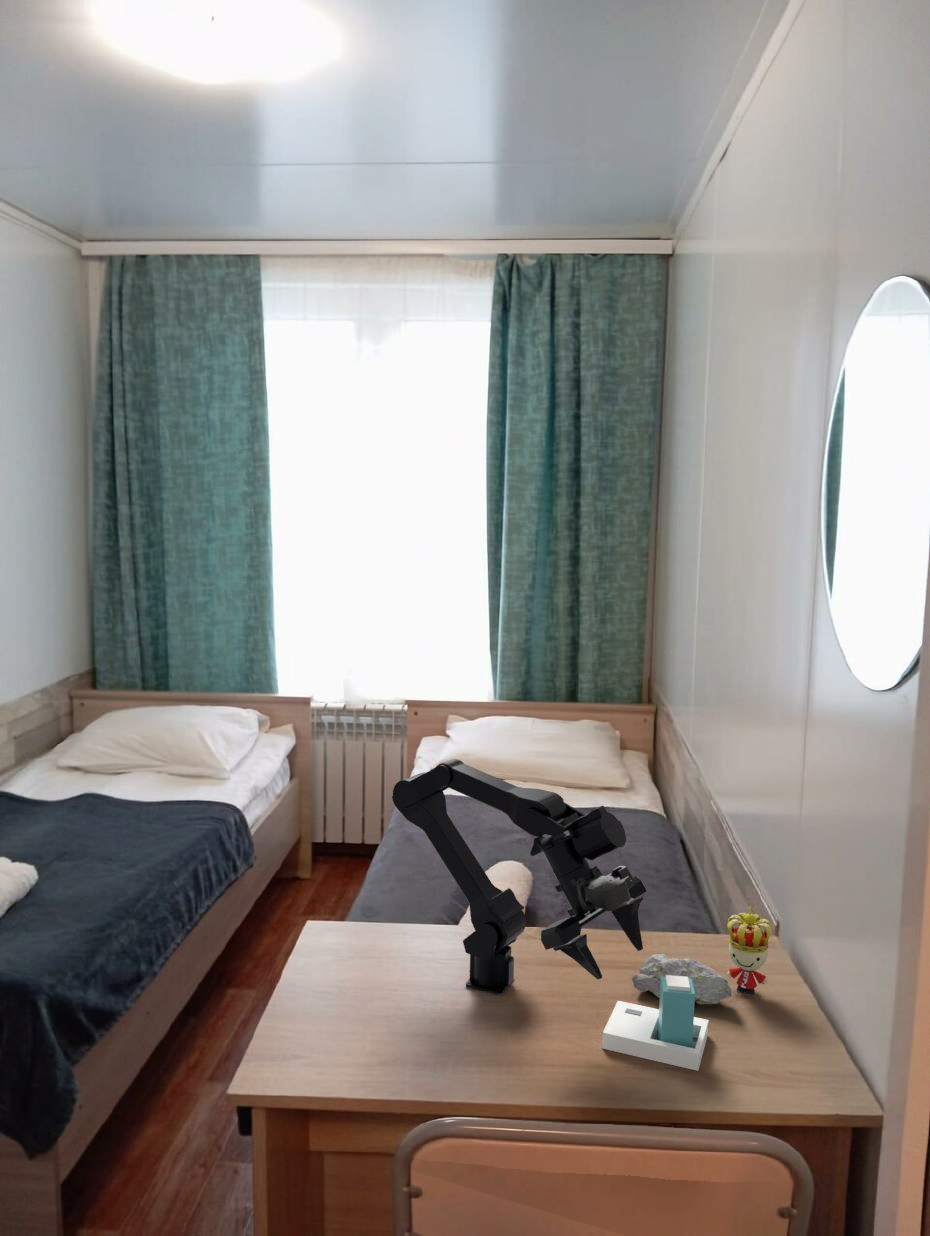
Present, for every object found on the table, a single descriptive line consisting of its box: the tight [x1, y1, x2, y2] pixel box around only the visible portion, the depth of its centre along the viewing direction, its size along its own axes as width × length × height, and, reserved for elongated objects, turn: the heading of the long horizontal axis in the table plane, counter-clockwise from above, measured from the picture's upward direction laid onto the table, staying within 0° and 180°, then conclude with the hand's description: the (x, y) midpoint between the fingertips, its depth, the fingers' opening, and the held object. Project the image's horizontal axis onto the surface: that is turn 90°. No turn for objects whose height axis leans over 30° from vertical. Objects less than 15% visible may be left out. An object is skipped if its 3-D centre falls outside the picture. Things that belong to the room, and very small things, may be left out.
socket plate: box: [601, 1000, 709, 1072], centre depth 143 cm, size 14×10×3 cm
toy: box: [726, 904, 773, 996], centre depth 158 cm, size 7×7×15 cm
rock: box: [631, 953, 733, 1006], centre depth 157 cm, size 16×7×7 cm, turn 65°
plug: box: [658, 975, 696, 1048], centre depth 141 cm, size 4×4×10 cm
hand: (620, 964), depth 146 cm, fingers open, 9 cm apart
